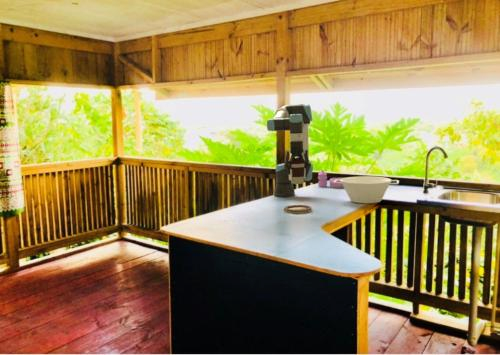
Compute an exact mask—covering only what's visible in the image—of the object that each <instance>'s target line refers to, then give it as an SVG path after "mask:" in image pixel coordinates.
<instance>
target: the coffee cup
mask: <svg viewBox="0 0 500 355" xmlns="http://www.w3.org/2000/svg"><path fill="white" fill-rule="evenodd" d="M304 163H305V160H303V158H297V157H295V158H294V159H293V160H292V161H290V160H289V164H291V165H292V166H291V169H292V180H291V183H292V185H302V184H304V182H305V181H304V169H305V167H304Z"/></svg>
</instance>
